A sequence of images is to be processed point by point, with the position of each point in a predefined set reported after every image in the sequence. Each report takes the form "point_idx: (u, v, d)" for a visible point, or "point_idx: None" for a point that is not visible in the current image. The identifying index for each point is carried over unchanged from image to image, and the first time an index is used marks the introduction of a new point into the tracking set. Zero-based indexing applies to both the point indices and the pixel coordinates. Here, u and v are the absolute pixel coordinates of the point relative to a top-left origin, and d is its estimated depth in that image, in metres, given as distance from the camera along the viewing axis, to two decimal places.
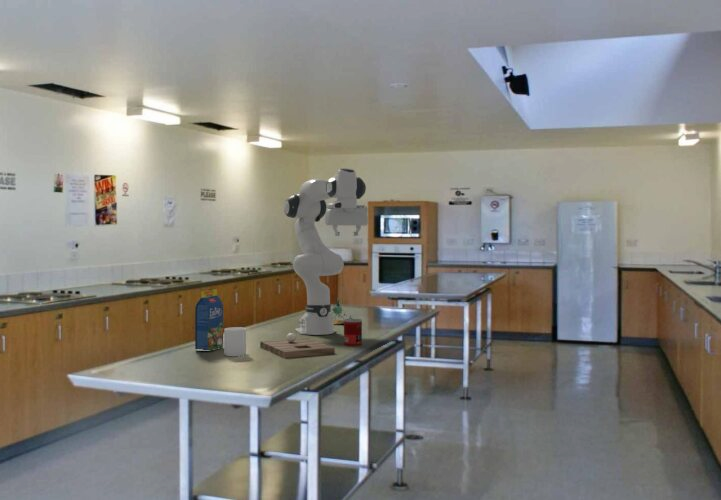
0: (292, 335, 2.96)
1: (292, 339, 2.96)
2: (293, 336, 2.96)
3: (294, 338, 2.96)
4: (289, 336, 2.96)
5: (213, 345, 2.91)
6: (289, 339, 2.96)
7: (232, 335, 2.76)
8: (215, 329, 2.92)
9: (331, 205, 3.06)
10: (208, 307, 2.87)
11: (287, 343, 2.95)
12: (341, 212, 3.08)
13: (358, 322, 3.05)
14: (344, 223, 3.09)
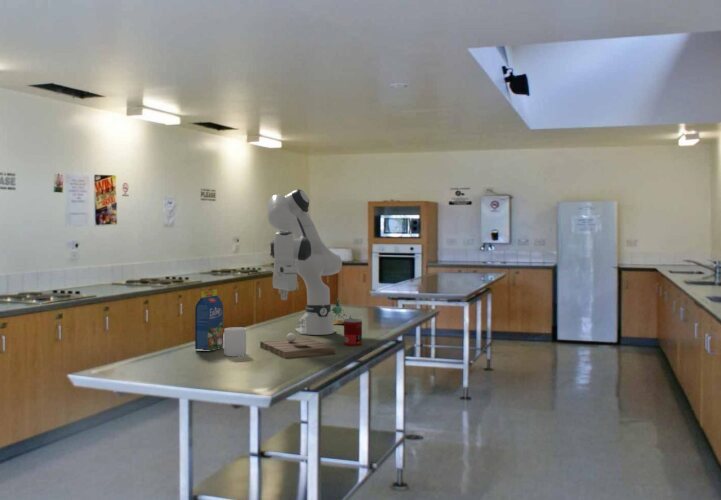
0: (292, 335, 2.96)
1: (292, 339, 2.96)
2: (293, 336, 2.96)
3: (294, 338, 2.96)
4: (289, 336, 2.96)
5: (213, 345, 2.91)
6: (289, 339, 2.96)
7: (232, 335, 2.76)
8: (215, 329, 2.92)
9: (296, 270, 2.97)
10: (208, 307, 2.87)
11: (287, 343, 2.95)
12: None
13: (358, 322, 3.05)
14: None
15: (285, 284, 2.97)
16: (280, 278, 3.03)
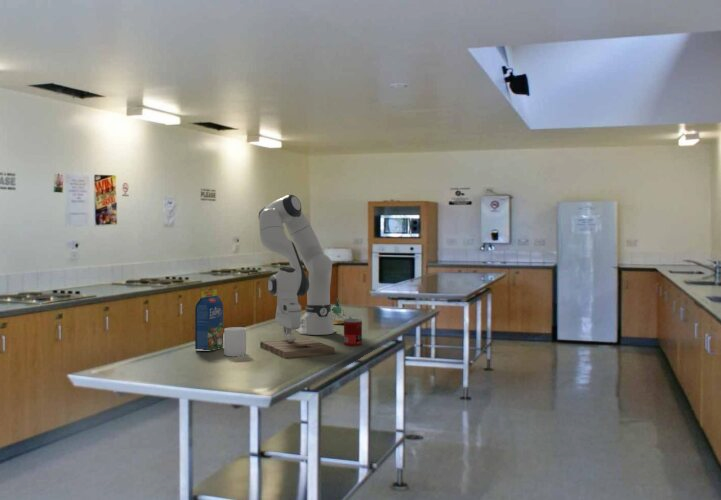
0: (292, 335, 2.96)
1: (292, 339, 2.96)
2: (293, 336, 2.96)
3: (294, 338, 2.96)
4: (289, 336, 2.96)
5: (213, 345, 2.91)
6: (289, 339, 2.96)
7: (232, 335, 2.76)
8: (215, 329, 2.92)
9: (299, 308, 2.93)
10: (208, 307, 2.87)
11: (287, 343, 2.95)
12: None
13: (358, 322, 3.05)
14: None
15: (288, 322, 2.94)
16: (283, 315, 3.00)
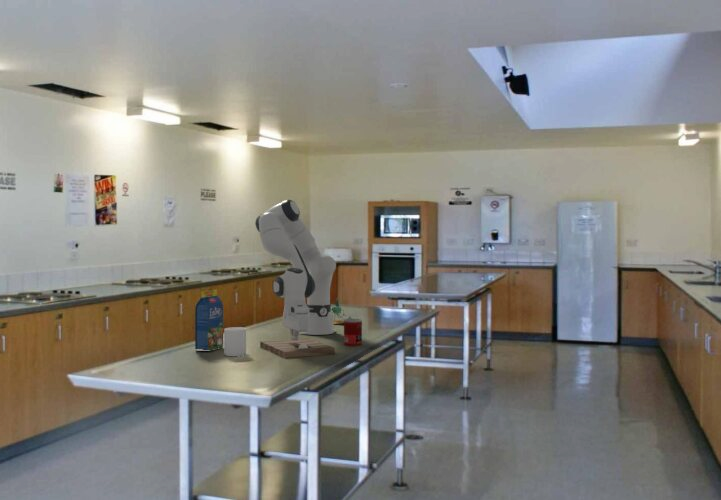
0: None
1: None
2: None
3: None
4: None
5: (213, 345, 2.91)
6: None
7: (232, 335, 2.76)
8: (215, 329, 2.92)
9: (307, 310, 2.86)
10: (208, 307, 2.87)
11: (287, 343, 2.95)
12: None
13: (358, 322, 3.05)
14: None
15: (296, 325, 2.86)
16: (291, 317, 2.92)
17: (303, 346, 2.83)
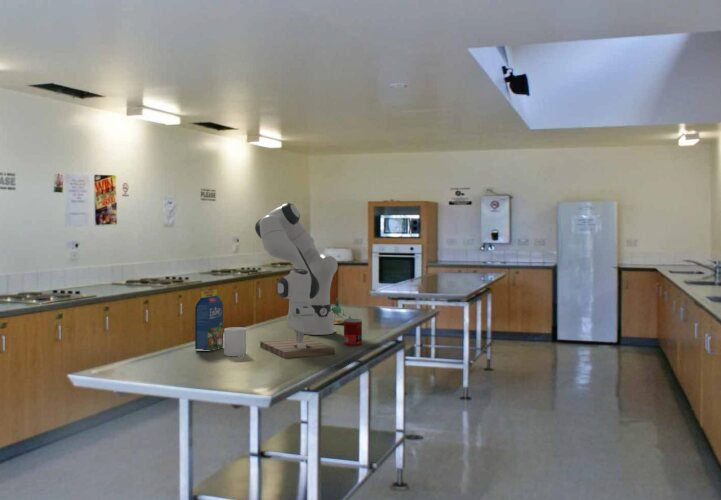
0: (303, 347, 2.85)
1: None
2: None
3: None
4: (300, 348, 2.85)
5: (213, 345, 2.91)
6: None
7: (232, 335, 2.76)
8: (215, 329, 2.92)
9: (312, 311, 2.82)
10: (208, 307, 2.87)
11: (287, 343, 2.95)
12: None
13: (358, 322, 3.05)
14: None
15: (301, 326, 2.82)
16: (295, 319, 2.88)
17: (300, 343, 2.86)
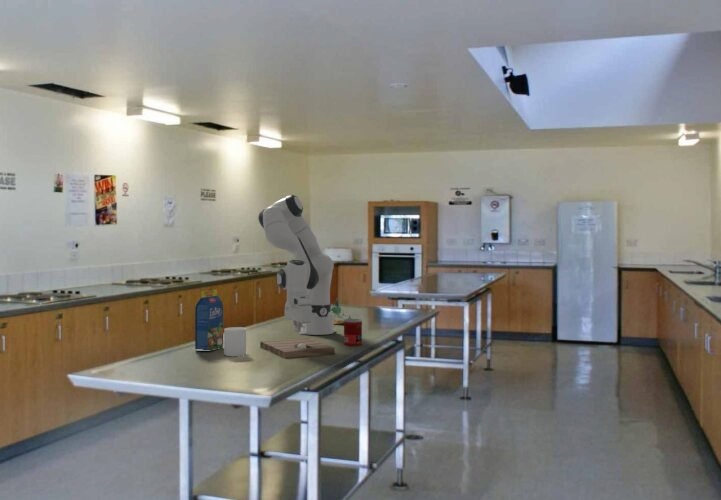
0: (303, 347, 2.85)
1: None
2: None
3: None
4: (300, 348, 2.84)
5: (213, 345, 2.91)
6: None
7: (232, 335, 2.76)
8: (215, 329, 2.92)
9: (310, 301, 2.87)
10: (208, 307, 2.87)
11: (287, 343, 2.95)
12: None
13: (358, 322, 3.05)
14: None
15: (299, 316, 2.87)
16: (293, 309, 2.93)
17: (300, 343, 2.86)
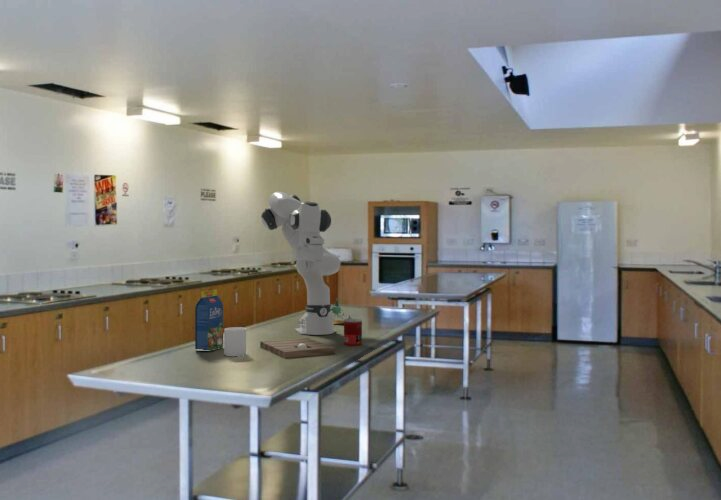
0: None
1: None
2: None
3: None
4: None
5: (213, 345, 2.91)
6: None
7: (232, 335, 2.76)
8: (215, 329, 2.92)
9: (322, 241, 2.97)
10: (208, 307, 2.87)
11: (287, 343, 2.95)
12: None
13: (358, 322, 3.05)
14: None
15: (311, 255, 2.97)
16: (305, 249, 3.03)
17: (301, 344, 2.85)
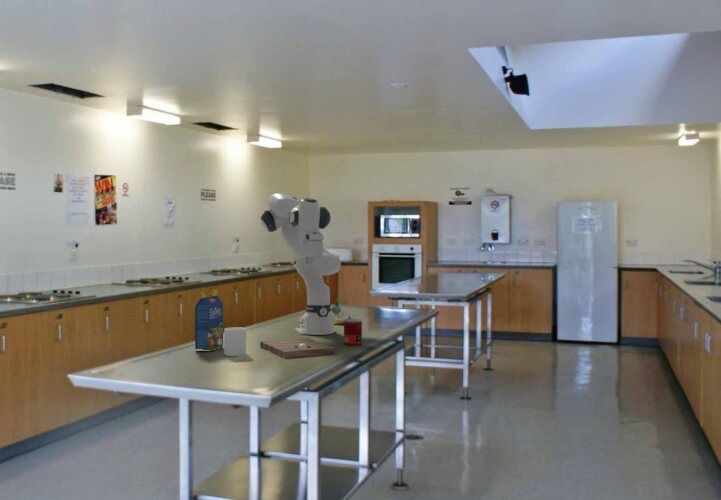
0: None
1: None
2: None
3: None
4: None
5: (213, 345, 2.91)
6: None
7: (232, 335, 2.76)
8: (215, 329, 2.92)
9: (321, 237, 2.98)
10: (208, 307, 2.87)
11: (287, 343, 2.95)
12: None
13: (358, 322, 3.05)
14: None
15: (311, 251, 2.98)
16: (305, 245, 3.04)
17: (302, 345, 2.84)
